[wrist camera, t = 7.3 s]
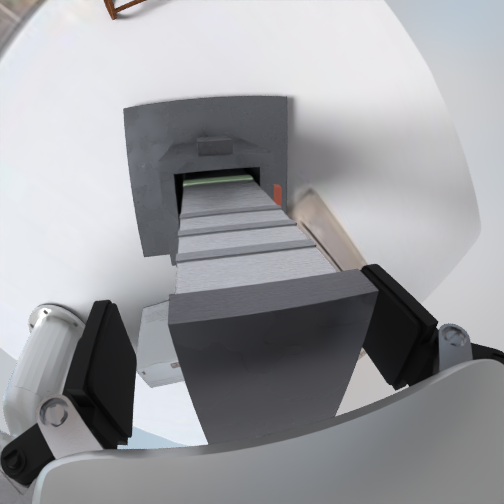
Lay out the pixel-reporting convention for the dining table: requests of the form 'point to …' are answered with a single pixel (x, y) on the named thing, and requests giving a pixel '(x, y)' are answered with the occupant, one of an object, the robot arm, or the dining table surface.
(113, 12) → the glasses
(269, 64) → the dining table surface
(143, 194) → the base
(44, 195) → the dining table surface
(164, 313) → the skincare box
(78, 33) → the dining table surface
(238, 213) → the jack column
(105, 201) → the dining table surface
